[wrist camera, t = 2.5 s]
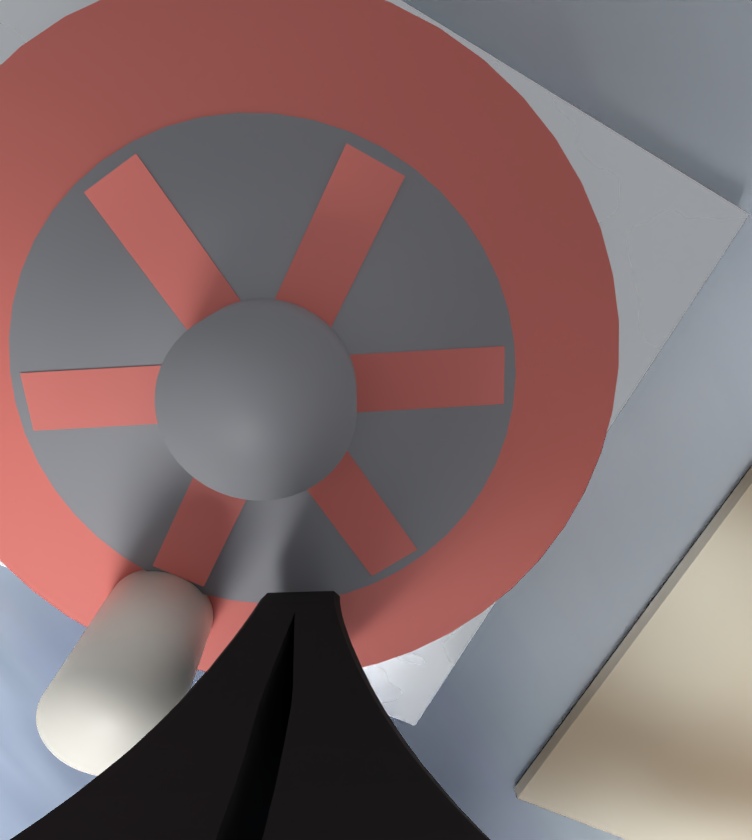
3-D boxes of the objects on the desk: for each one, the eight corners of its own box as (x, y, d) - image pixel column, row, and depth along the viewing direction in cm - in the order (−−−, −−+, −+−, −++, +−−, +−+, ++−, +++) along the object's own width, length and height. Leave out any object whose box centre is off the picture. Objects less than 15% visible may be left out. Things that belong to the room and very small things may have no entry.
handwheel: (71, -166, 9) (-129, -444, 5) (720, 226, 11) (909, 227, 7) (-129, 502, 12) (-345, 627, 8) (407, 712, 14) (426, 888, 10)
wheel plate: (413, 713, 15) (415, 725, 15) (-134, 498, 13) (-149, 506, 12) (736, 214, 12) (749, 213, 11) (70, -193, 9) (58, -211, 9)
